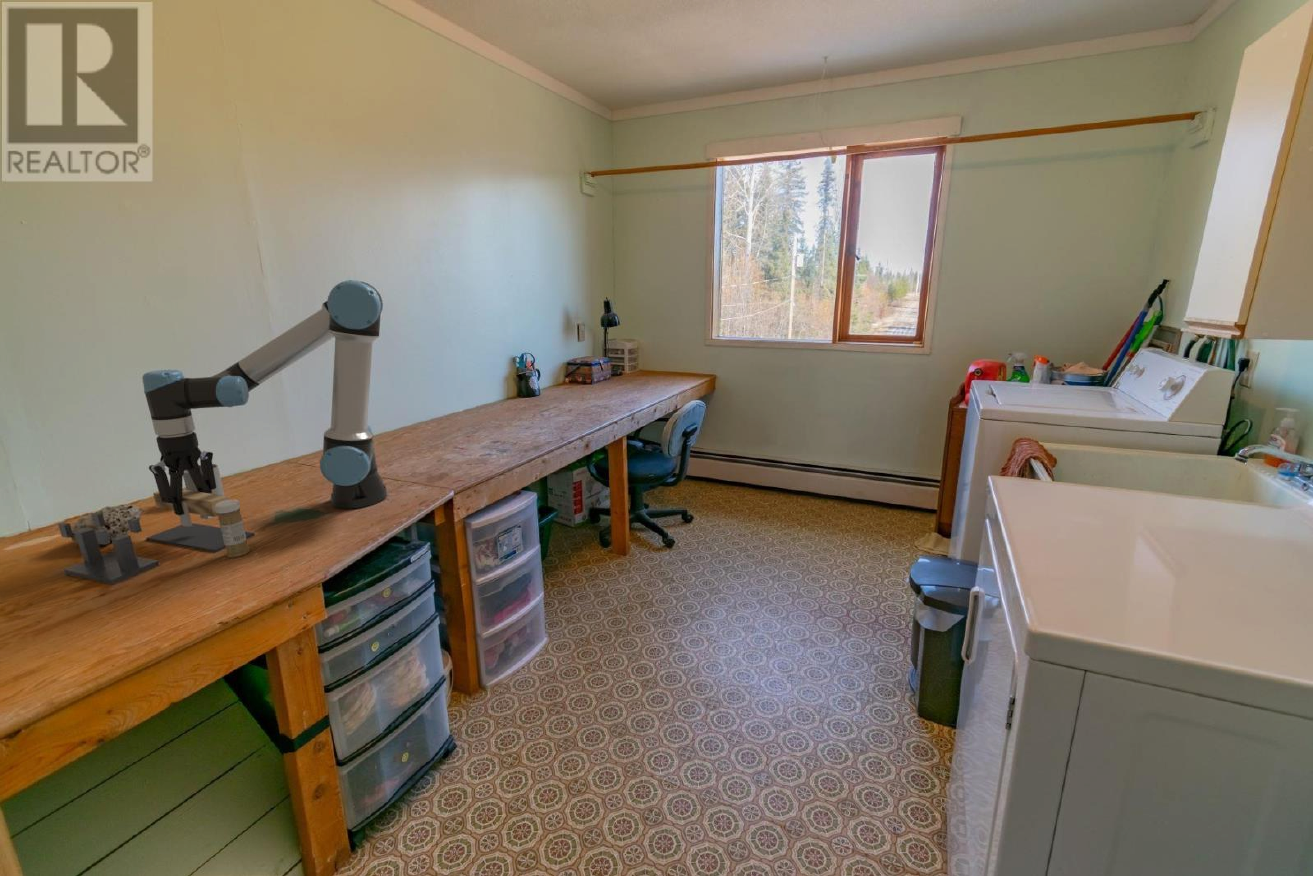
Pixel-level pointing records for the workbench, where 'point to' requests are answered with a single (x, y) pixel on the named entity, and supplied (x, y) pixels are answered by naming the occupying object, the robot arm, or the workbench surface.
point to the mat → (194, 537)
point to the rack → (110, 564)
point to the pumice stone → (109, 521)
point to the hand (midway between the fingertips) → (196, 521)
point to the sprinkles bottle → (232, 528)
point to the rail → (195, 502)
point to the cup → (189, 481)
